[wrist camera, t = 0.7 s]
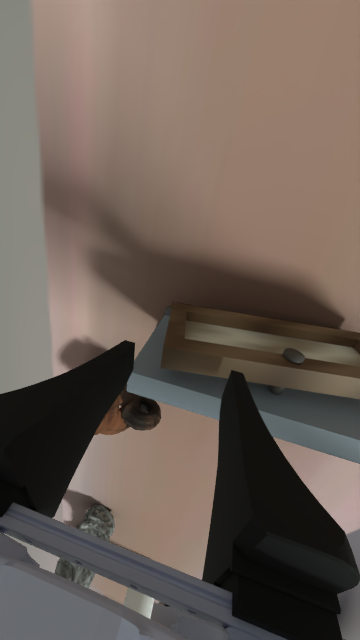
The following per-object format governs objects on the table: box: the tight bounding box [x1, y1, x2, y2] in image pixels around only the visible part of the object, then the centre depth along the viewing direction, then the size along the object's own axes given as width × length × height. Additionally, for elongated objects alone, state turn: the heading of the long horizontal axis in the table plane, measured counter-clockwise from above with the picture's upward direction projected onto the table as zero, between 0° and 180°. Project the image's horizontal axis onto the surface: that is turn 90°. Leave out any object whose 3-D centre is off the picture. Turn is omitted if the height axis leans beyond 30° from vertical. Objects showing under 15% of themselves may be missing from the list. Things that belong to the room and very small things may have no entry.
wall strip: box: [127, 307, 360, 464], centre depth 18 cm, size 20×5×10 cm, turn 81°
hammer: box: [55, 505, 115, 588], centre depth 56 cm, size 15×10×30 cm
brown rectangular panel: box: [160, 302, 360, 399], centre depth 16 cm, size 16×3×6 cm, turn 81°
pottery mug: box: [94, 394, 161, 435], centre depth 27 cm, size 12×10×8 cm
